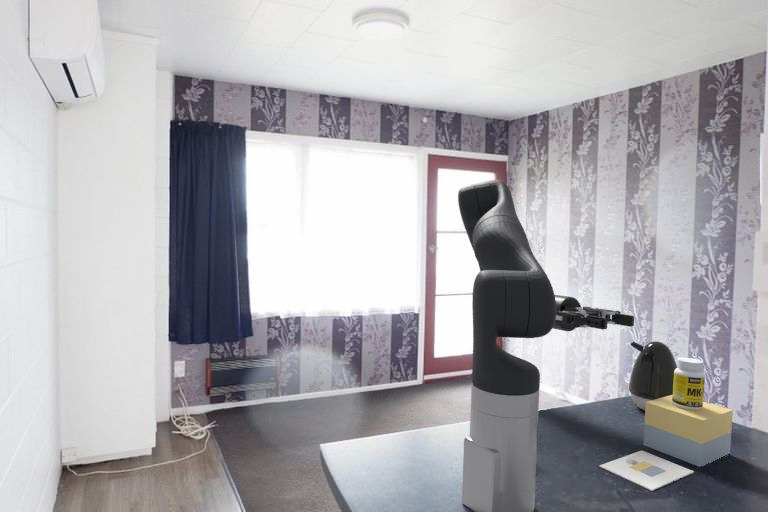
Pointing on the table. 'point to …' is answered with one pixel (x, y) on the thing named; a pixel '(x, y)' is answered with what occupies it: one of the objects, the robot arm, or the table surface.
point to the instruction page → (646, 470)
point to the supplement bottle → (688, 384)
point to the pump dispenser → (652, 373)
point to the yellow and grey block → (688, 431)
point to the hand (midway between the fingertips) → (620, 322)
